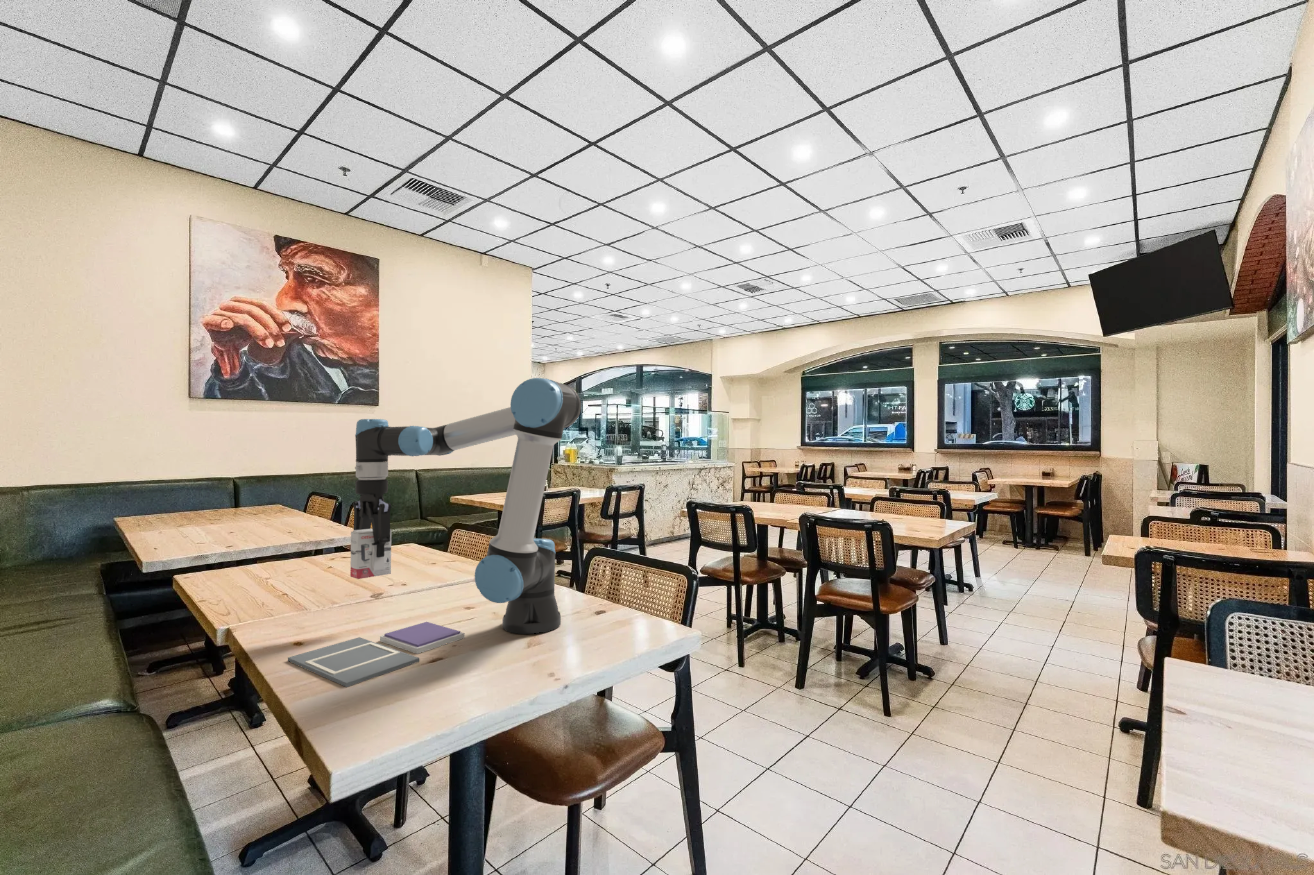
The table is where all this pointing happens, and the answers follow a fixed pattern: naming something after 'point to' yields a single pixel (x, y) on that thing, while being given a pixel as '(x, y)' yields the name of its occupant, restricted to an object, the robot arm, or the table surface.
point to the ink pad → (421, 637)
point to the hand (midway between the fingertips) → (371, 568)
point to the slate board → (353, 661)
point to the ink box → (367, 555)
